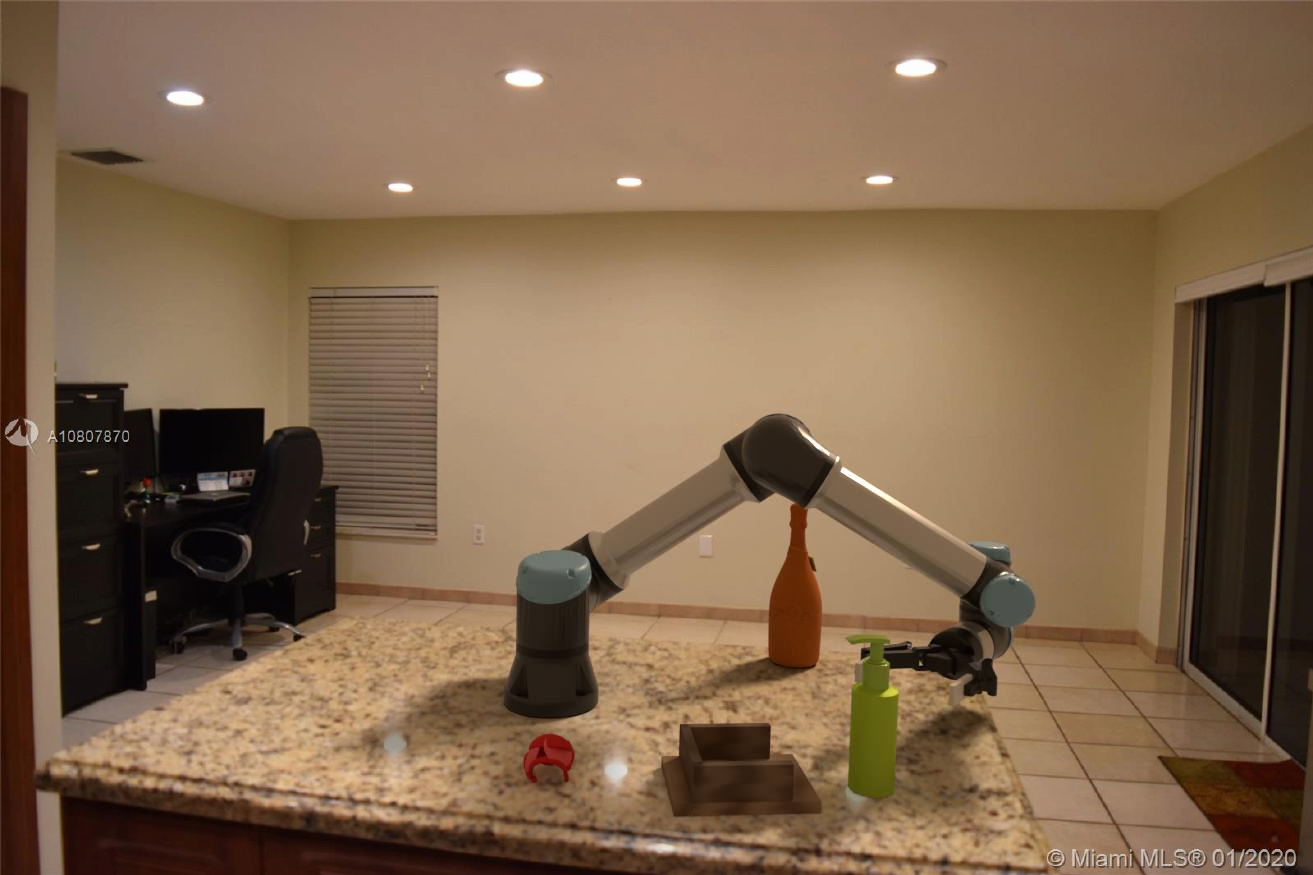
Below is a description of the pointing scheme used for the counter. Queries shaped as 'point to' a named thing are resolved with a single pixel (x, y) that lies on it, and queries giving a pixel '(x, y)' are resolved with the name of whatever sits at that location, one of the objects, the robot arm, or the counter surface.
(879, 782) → the soap dispenser
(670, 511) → the robot arm
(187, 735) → the counter surface
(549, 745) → the cap
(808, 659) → the wine bottle
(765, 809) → the u rest
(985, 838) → the counter surface
